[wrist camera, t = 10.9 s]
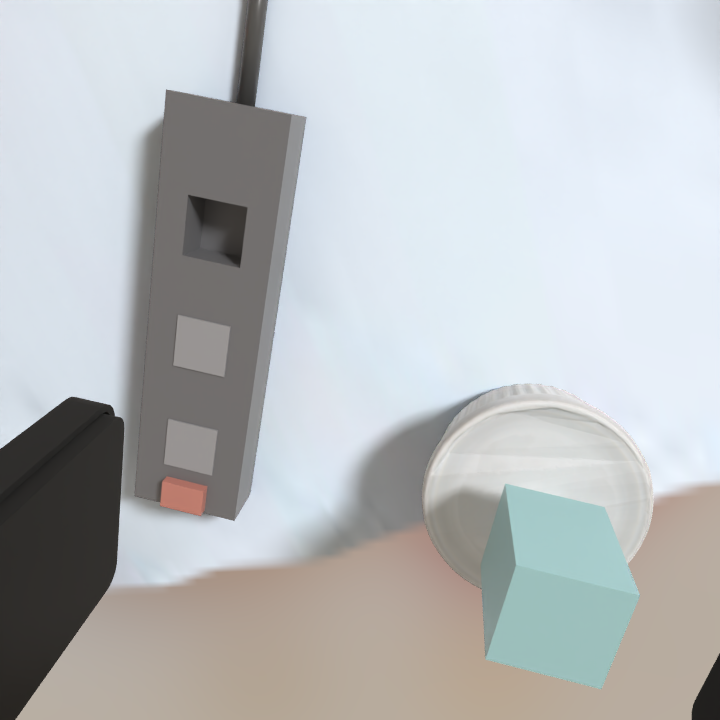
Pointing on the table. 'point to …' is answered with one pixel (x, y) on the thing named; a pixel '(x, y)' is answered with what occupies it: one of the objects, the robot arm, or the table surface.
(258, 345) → the power strip
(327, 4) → the table surface
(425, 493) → the ramekin
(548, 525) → the block
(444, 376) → the table surface
